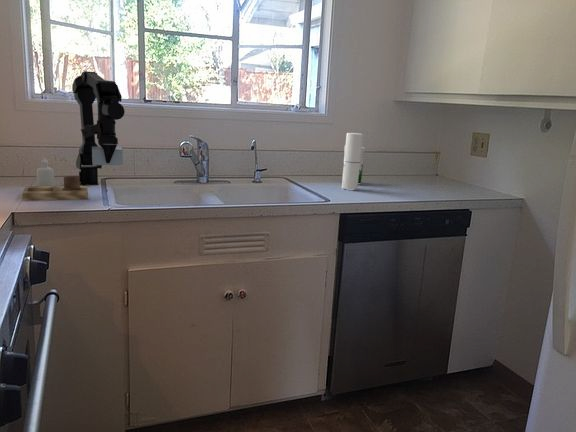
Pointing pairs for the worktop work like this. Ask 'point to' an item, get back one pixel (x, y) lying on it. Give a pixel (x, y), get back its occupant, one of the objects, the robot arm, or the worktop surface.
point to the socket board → (53, 193)
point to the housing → (99, 156)
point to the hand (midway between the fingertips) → (107, 161)
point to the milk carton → (360, 163)
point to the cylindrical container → (352, 160)
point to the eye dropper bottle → (45, 174)
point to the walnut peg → (71, 183)
